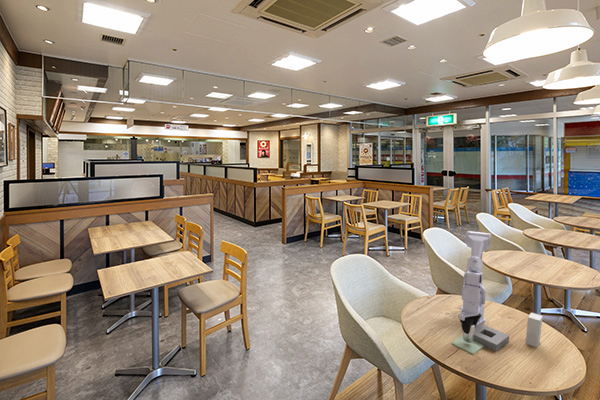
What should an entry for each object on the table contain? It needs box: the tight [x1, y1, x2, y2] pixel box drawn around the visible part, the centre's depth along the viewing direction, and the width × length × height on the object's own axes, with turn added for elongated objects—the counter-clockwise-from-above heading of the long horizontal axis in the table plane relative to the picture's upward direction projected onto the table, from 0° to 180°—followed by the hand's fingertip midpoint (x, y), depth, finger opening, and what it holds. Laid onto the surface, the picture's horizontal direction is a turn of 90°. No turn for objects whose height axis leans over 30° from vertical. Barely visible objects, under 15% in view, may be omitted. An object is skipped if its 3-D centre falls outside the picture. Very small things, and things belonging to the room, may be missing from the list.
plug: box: [462, 323, 475, 343], centre depth 130 cm, size 4×4×7 cm
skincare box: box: [525, 312, 543, 348], centre depth 132 cm, size 6×4×12 cm
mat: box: [451, 334, 485, 355], centre depth 131 cm, size 9×9×1 cm
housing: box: [474, 323, 510, 352], centre depth 135 cm, size 12×12×3 cm
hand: (468, 331), depth 130 cm, fingers closed on plug, 4 cm apart
